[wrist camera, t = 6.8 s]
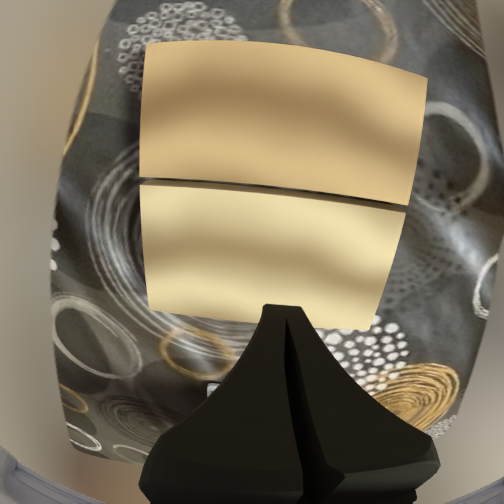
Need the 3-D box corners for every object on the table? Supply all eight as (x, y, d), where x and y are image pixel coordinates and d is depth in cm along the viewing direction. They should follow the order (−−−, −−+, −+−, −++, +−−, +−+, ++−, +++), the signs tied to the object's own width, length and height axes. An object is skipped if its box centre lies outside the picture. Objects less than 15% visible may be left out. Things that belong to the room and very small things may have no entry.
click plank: (363, 317, 22) (368, 329, 20) (155, 297, 22) (149, 309, 20) (396, 205, 18) (405, 213, 16) (148, 179, 18) (139, 185, 17)
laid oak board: (398, 198, 18) (407, 205, 16) (148, 171, 18) (139, 176, 16) (416, 79, 14) (427, 78, 13) (155, 48, 14) (146, 43, 13)
